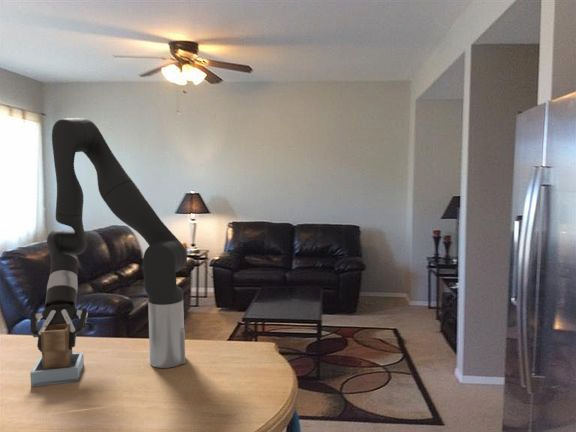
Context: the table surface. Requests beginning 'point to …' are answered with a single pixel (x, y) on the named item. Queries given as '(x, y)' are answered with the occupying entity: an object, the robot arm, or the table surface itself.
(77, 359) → the blue crate
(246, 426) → the table surface
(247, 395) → the table surface
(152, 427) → the table surface
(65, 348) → the walnut crate
